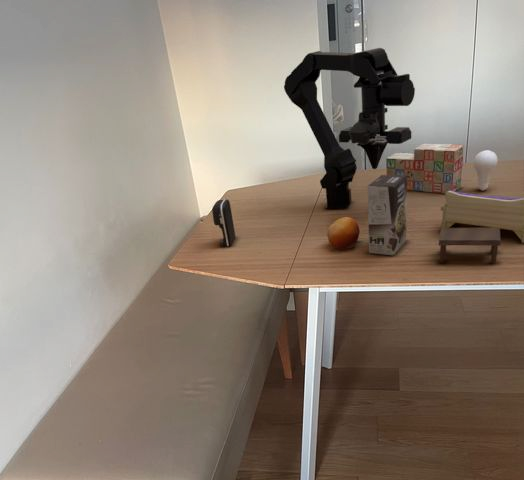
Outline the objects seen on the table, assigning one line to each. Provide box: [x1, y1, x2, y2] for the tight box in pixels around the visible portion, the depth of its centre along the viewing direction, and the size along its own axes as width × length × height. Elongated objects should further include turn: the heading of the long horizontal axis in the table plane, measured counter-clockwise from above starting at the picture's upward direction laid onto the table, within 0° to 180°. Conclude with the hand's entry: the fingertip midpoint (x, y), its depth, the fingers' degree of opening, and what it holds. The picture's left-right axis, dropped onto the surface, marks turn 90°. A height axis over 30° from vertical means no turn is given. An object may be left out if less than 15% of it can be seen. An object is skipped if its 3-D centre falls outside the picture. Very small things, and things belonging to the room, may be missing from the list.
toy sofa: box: [440, 191, 524, 244], centre depth 121 cm, size 21×9×10 cm, turn 49°
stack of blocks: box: [385, 143, 465, 195], centre depth 154 cm, size 21×6×12 cm, turn 49°
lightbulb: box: [473, 149, 499, 191], centre depth 145 cm, size 6×6×11 cm
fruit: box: [326, 216, 360, 250], centre depth 127 cm, size 8×8×8 cm
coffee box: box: [367, 174, 408, 256], centre depth 120 cm, size 9×6×16 cm
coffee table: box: [438, 227, 501, 265], centre depth 112 cm, size 12×7×6 cm, turn 71°
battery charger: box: [211, 198, 237, 247], centre depth 139 cm, size 7×4×11 cm, turn 171°
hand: (374, 168), depth 139 cm, fingers closed
